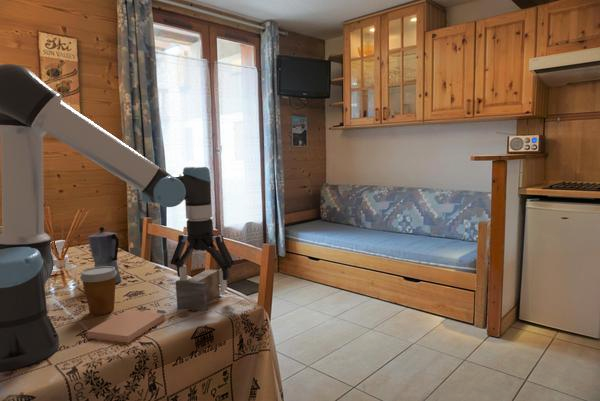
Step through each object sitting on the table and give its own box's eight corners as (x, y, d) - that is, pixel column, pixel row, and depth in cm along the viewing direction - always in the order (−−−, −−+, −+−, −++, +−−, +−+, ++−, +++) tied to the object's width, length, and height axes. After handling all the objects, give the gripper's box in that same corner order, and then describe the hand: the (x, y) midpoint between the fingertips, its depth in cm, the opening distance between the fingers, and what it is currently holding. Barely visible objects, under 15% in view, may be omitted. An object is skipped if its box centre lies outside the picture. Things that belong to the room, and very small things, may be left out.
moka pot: (106, 276, 150) (102, 223, 147) (135, 281, 142) (130, 226, 140) (82, 284, 141) (77, 228, 139) (111, 290, 134) (106, 231, 132)
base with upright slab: (57, 268, 164) (54, 239, 162) (75, 269, 161) (72, 240, 160) (37, 275, 155) (34, 244, 154) (56, 276, 153) (53, 245, 151)
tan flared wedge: (204, 311, 113) (203, 283, 112) (177, 308, 116) (175, 281, 115) (227, 295, 125) (225, 270, 125) (201, 293, 128) (200, 268, 127)
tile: (164, 321, 108) (128, 345, 94) (127, 317, 111) (87, 339, 98) (164, 313, 108) (127, 336, 94) (127, 309, 111) (87, 331, 98)
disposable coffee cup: (127, 305, 119) (124, 266, 118) (105, 318, 110) (101, 275, 109) (99, 304, 121) (95, 265, 120) (75, 316, 112) (71, 274, 111)
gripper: (243, 217, 118) (246, 287, 121) (171, 216, 126) (175, 282, 128) (231, 221, 111) (235, 296, 113) (155, 220, 119) (160, 289, 121)
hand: (203, 288), depth 121 cm, fingers open, 13 cm apart
